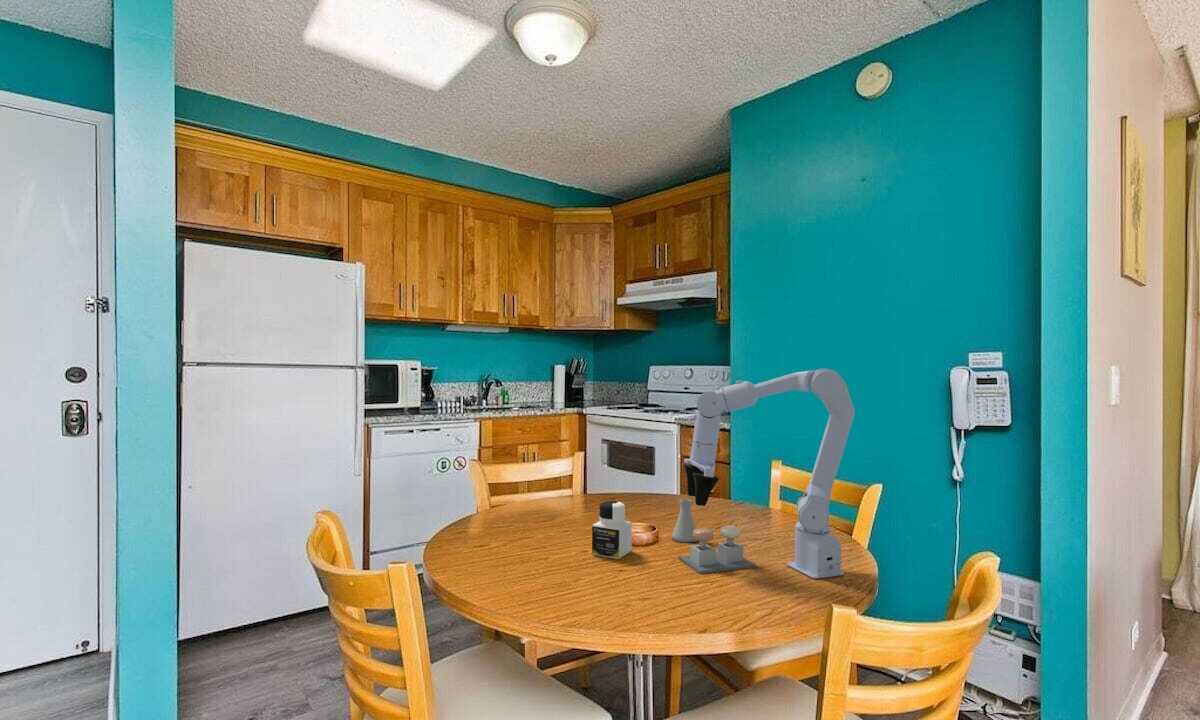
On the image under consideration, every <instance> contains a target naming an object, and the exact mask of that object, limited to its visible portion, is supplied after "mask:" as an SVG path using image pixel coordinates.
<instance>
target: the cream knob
mask: <svg viewBox="0 0 1200 720" xmlns="http://www.w3.org/2000/svg"><path fill="white" fill-rule="evenodd" d="M720 536H721V537H724V538H726V542H727V547H734V542H735V539H736V538H740V537H741V528H740V527H739V526H734V525H733V526H732V525H724V526H723V525H722V526H721V527H720Z"/></svg>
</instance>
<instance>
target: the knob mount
mask: <svg viewBox="0 0 1200 720" xmlns="http://www.w3.org/2000/svg"><path fill="white" fill-rule="evenodd" d="M716 545H717V549H716V548H714V547H712V546H710V545H709V544H707V549H706V550H700V549H699V544H695V545H690V547H689V550H690V551H689V555H684V556H683V555H682V556H678V560H679V561H680V562H682V563H683V564H685V565H686V566H687V567H689V568H691V569H692V570H693V571H695V572H696V573H698V574H699V575H702V574H703V575H705V574H710V573H718V572H719V573H720V572H726V571H735V570H736V571H737V570H744V569H753V568H756V567H757V564H756V563H754V562H752V561H751V560H749V559H747V558H746V557H744V546H743V545H741V544H739V543H737V542H735V541H734V547H727V541H725V542H717V544H716Z"/></svg>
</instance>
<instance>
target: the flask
mask: <svg viewBox="0 0 1200 720" xmlns="http://www.w3.org/2000/svg"><path fill="white" fill-rule="evenodd" d="M678 501H679V503H680V508H679V514H678V518H677V520H676V523H675V526H674V529H673V532H672V534H671V536H670V537H671V539H672V540H673V541H675V542H681V543H694V542H696V543H697V542H698V541H699V540H696V539H694V538H693V530H694V529H697V527H696V524H695V521H694V517H693V511H692V508H691V507H692V503H693V500H692V499H690V498H689V499H688V498H681V499H679V500H678Z"/></svg>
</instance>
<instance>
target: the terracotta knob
mask: <svg viewBox="0 0 1200 720" xmlns="http://www.w3.org/2000/svg"><path fill="white" fill-rule="evenodd" d="M693 538H694V539H696V540H698V541H699V544H698V545H699V549H700V550H706V549H707V545H708V544H707V542H708V541H712V540H713V539H714V530H712V529H709V528H701V527H700V528H696V529H694V530H693Z"/></svg>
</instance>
